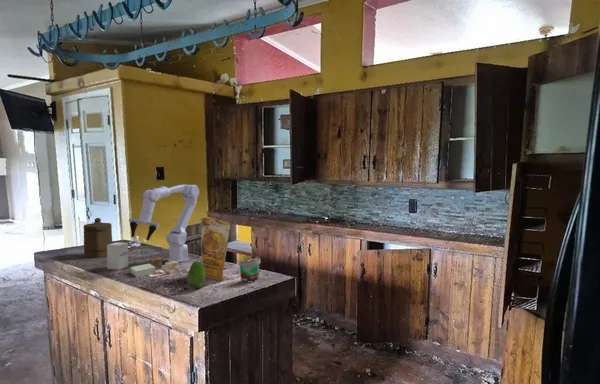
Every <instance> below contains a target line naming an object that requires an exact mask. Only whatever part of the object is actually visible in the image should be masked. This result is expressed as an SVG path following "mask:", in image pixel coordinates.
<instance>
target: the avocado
mask: <svg viewBox="0 0 600 384" xmlns="http://www.w3.org/2000/svg"><path fill="white" fill-rule="evenodd" d="M206 278H207V277H206V273H205V269H204V266H203V263H202V261H200V260H195V261H193V262H192V263H191V265H190V268H189V271H188V273H187V278H186V279H187V284H188V286H189V287H191V288H192V289H199V288H202V287H203V286H204V284H205V282H206Z"/></svg>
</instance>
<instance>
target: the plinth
mask: <svg viewBox="0 0 600 384" xmlns="http://www.w3.org/2000/svg"><path fill="white" fill-rule="evenodd" d="M155 271H156V269H155V267H154V266H152V265H151V264H150V263H145V264H140V265H135V266H131V267H130V273H131V274H132V275H133V276H134V277H136V278H138V277H145V276H149V275H150V274H154V273H156V272H155Z"/></svg>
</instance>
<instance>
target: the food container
mask: <svg viewBox="0 0 600 384" xmlns="http://www.w3.org/2000/svg"><path fill="white" fill-rule="evenodd" d="M261 262H262V261H261V258H260V256H257V255H254V257H253V258H249V259H246V260H243V261H242V260H239V264H238V266H239V269H240V270H239V272H240V281H243V282H242V283H249V282H248V281H254V282H256V281H255V280H257V279H258V280H259V270H260V264H261ZM258 280H257V281H258Z"/></svg>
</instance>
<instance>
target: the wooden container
mask: <svg viewBox="0 0 600 384" xmlns="http://www.w3.org/2000/svg"><path fill="white" fill-rule="evenodd" d="M101 221H102V218H100V217H96V218H94V222H93V223H87V224H83V250H84V251H83V252H84V258H90V259H91V258H93V259H94V258H95V259H96V258H104V257H107V245H109V244H113V234H112V233H113V231H112V226H113V225H112V223H110V222H101Z"/></svg>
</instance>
